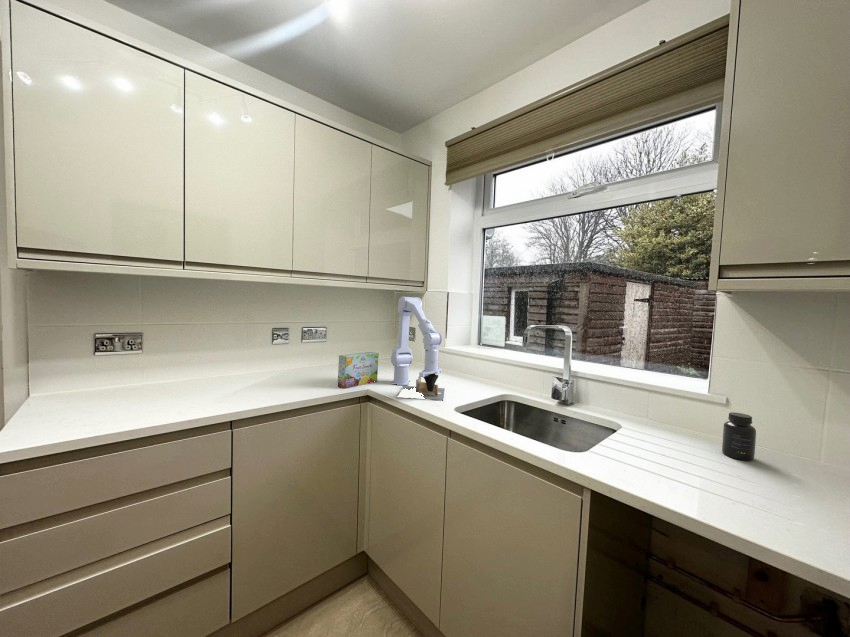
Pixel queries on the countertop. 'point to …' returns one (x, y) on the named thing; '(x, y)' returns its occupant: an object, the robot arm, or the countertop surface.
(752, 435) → the supplement bottle
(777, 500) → the countertop surface
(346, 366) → the snack box
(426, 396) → the board
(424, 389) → the hinged fence section
